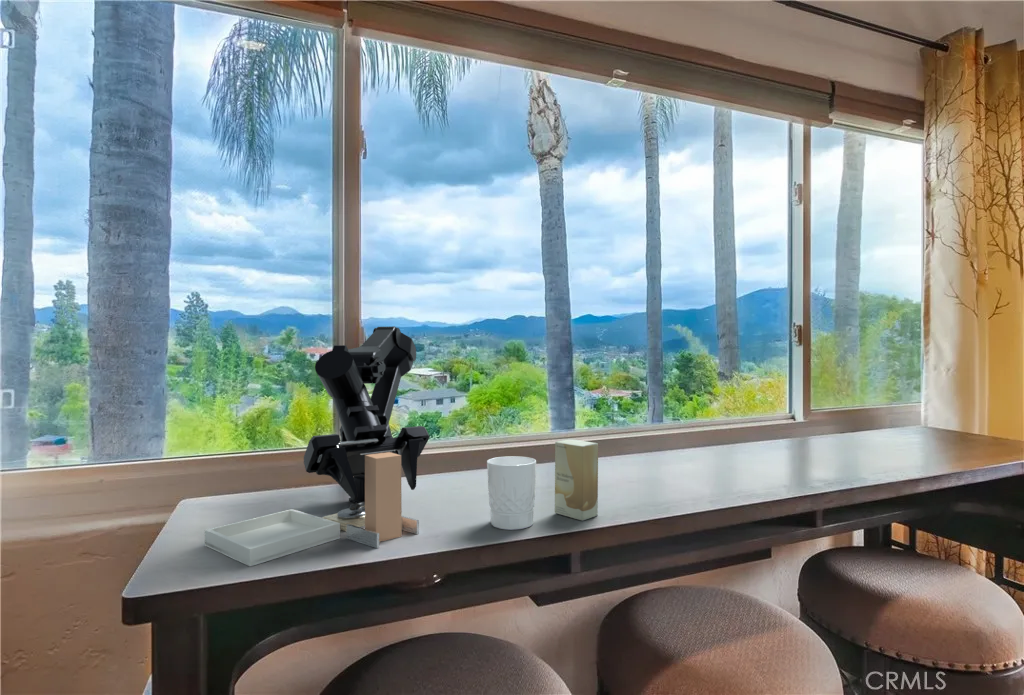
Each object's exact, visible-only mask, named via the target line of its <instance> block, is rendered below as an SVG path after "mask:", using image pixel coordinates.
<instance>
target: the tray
mask: <svg viewBox="0 0 1024 695" xmlns="http://www.w3.org/2000/svg"><path fill="white" fill-rule="evenodd" d="M339 539H341V530H340V523H338V522H334V521H331V520H327V519H324V518H323V517H320V516H318V515H317V516H316V515H314V514H310V513H307V512H303V511H300V510H297V509H293V508H290V509H286V510H283V511H278V512H274V513H269V514H265V515H261V516H257V517H254V518H253V517H252V518H249V519H245V520H239V521H235V522H233V523H228V524H225V525H220V526H216V527H212V528H211V527H210V528H206V529H205V530H204V547H207V548H209V549H212V550H214V551H216V552H217V553H220V554H221V555H225V556H227V558H228V557H229V558H231V559H233V560H235V561H237V562H240V563H242V564H244V565H246V566H248V567H254V566H256V565H260V564H263V563H265V562H269V561H272V560H275V559H278V558H281V557H285V556H287V555H288V556H289V555H291V554H294V553H298V552H301V551H304V550H307V549H311V548H313V547H316V546H320V545H323V544H326V543H330V542H333V541H335V540H336V541H337V540H339Z"/></svg>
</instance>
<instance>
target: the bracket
mask: <svg viewBox="0 0 1024 695" xmlns="http://www.w3.org/2000/svg"><path fill="white" fill-rule="evenodd" d="M322 518H324V519H327V520H331V521H334V522H338V523H340V531H343V532H346V539H347V540H350V541H352V542H357V543H359V544H363V545H365V546H369V547H372V548H375V549H379V548H380V542H379V533H377V532H374V531H370V530H367V529H365V501H363V502H360V503H353V504H350V505H349V507H348V508H343V509H341V510H339V511H338V512H336V513H333V514H328V515H325V516H322ZM402 531H405V532H407V533H412V534H415V535H418V534H420V520H419V519H415V518H412V517H407V516H404V515H402Z"/></svg>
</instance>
